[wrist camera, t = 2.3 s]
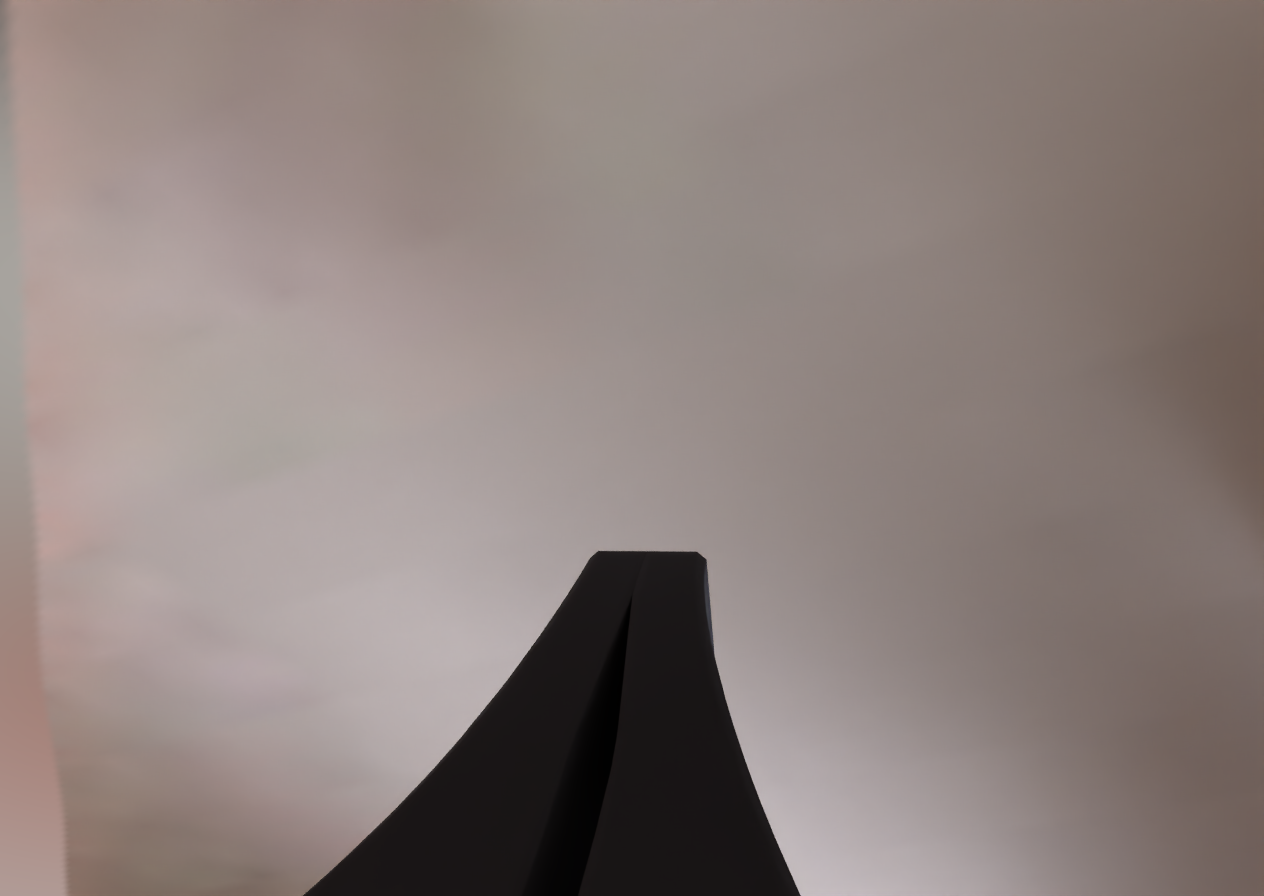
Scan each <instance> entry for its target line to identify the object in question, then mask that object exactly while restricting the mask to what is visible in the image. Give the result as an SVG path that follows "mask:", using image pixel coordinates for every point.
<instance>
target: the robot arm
mask: <svg viewBox="0 0 1264 896" xmlns="http://www.w3.org/2000/svg"><path fill="white" fill-rule="evenodd" d="M303 896H801V895H800V893H799V891H798V889H797V887H796V885H795V882H794V880H793V878H792V875H791V873H790V871H789V869H788V866H787V864H786V862H785V860H784V857H783V855H782V853H781V850H780V848H779V846H778V844H777V841H776V839H775V837H774V834H773V832H772V829H771V827H770V824H769V822H768V819H767V817H766V814H765V812H764V809H763V807H762V805H761V802H760V799H759V797H758V794H757V792H756V789H755V786H754V784H753V781H752V778H751V775H750V773H749V770H748V767H747V764H746V762H745V759H744V756H743V753H742V750H741V747H740V744H739V741H738V738H737V735H736V732H735V729H734V726H733V723H732V719H731V716H730V713H729V709H728V706H727V703H726V699H725V695H724V691H723V688H722V684H721V680H720V676H719V672H718V668H717V664H716V660H715V655H714V644H713V632H712V620H711V608H710V596H709V584H708V572H707V560H706V559H705V558H704V557H703V556H701V555H700V554H699V553H698V552H658V551H598V552H597V553H595V554H594V555H593V556H592V557H591V558H590V559H589V561H588V563H587V564H586V566H585V568H584V569H583V571H582V573H581V574H580V576H579V577H578V579H577V581H576V582H575V584H574V585H573V587H572V588H571V590H570V592H569V593H568V595H567V596H566V598H565V599H564V601H563V602H562V604H561V605H560V607H559V608H558V610H557V611H556V613H555V614H554V616H553V617H552V619H551V620H550V622H549V623H548V625H547V626H546V628H545V629H544V631H543V632H542V633H541V635H540V636H539V638H538V639H537V640H536V642H535V643H534V644H533V646H532V647H531V649H530V650H529V651H528V653H527V654H526V655H525V657H524V658H523V660H522V661H521V662H520V664H519V665H518V666H517V668H516V669H515V670H514V672H513V673H512V675H511V676H510V677H509V679H508V680H507V681H506V683H505V684H504V685H503V686H502V688H501V689H500V690H499V692H498V693H497V694H496V695H495V697H494V698H493V699H492V700H491V701H490V703H489V704H488V705H487V706H486V708H485V709H484V710H483V711H482V712H481V714H480V715H479V716H478V717H477V719H476V720H475V721H474V722H473V723H472V725H471V726H470V727H469V728H468V730H467V731H466V732H465V733H464V735H463V736H462V737H461V738H460V739H459V741H458V742H457V743H456V744H455V745H454V746H453V747H452V749H451V750H450V751H449V752H448V753H447V754H446V755H445V757H444V758H443V759H442V760H441V761H440V762H439V763H438V764H437V766H436V767H435V768H434V769H433V770H432V771H431V772H430V773H429V774H428V775H427V776H426V778H425V779H424V780H423V781H422V782H421V783H420V784H419V785H418V786H417V787H416V788H415V789H414V790H413V791H412V792H411V793H410V794H409V795H408V796H407V798H406V799H405V800H404V801H403V802H402V803H401V804H400V805H399V806H398V807H397V808H396V809H395V810H394V811H393V812H392V813H391V814H390V815H389V816H388V817H387V818H386V819H385V820H384V821H383V822H382V823H381V824H380V825H379V826H378V827H377V828H375V829H374V830H373V831H372V832H371V833H370V834H369V835H368V836H367V837H366V838H365V839H364V840H363V841H362V842H361V843H360V844H359V845H358V846H357V847H356V848H355V849H354V850H353V851H352V852H351V853H349V854H348V855H347V856H346V857H345V858H344V859H343V860H342V861H341V862H340V863H339V864H338V865H337V866H336V867H334V868H333V869H332V870H331V871H330V872H329V873H328V874H327V875H326V876H325V877H323V878H322V879H321V880H320V881H319V882H318V883H317V884H316V885H314V886H313V887H312V888H311V889H310V890H309V891H308V892H306V893H305V894H304V895H303Z"/></svg>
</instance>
